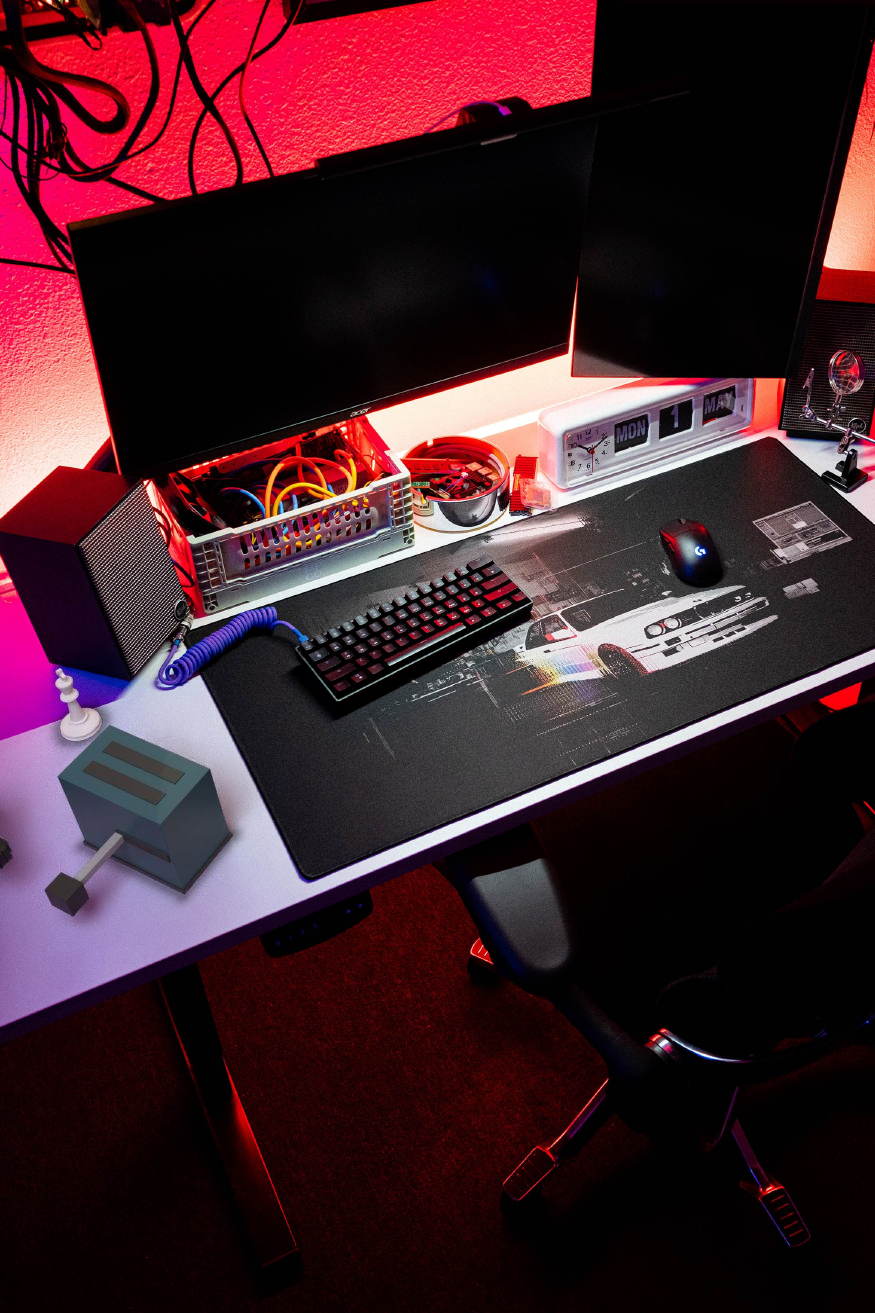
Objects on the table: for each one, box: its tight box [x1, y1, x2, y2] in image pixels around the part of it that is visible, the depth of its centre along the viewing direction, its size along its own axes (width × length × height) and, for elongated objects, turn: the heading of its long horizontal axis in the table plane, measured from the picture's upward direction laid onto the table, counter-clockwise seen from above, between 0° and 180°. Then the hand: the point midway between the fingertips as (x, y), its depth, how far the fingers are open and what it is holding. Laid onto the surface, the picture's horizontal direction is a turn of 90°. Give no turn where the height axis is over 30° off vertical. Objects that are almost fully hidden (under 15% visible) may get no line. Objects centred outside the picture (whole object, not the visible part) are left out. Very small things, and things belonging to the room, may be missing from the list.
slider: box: [43, 832, 124, 917], centre depth 118 cm, size 9×3×3 cm, turn 153°
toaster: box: [57, 724, 234, 895], centre depth 124 cm, size 8×14×12 cm, turn 63°
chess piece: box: [55, 668, 103, 742], centre depth 138 cm, size 5×5×10 cm
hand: (5, 858), depth 117 cm, fingers closed
